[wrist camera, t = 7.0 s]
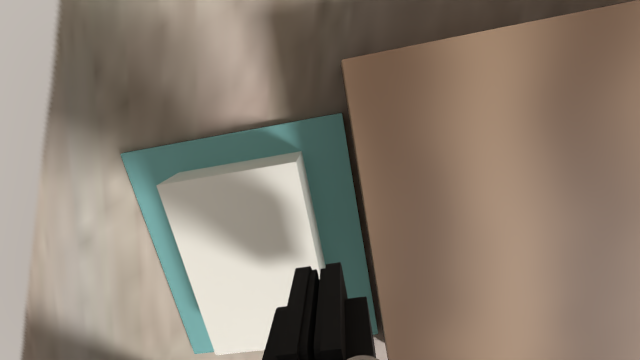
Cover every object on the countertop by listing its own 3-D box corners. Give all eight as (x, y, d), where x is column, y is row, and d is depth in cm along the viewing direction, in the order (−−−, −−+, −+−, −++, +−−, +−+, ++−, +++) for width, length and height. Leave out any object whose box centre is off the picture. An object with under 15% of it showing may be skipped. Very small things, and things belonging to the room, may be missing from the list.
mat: (341, 112, 14) (341, 113, 14) (377, 330, 18) (378, 334, 18) (124, 152, 16) (120, 153, 15) (196, 349, 19) (194, 353, 19)
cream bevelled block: (156, 185, 14) (178, 172, 15) (215, 355, 16) (228, 325, 18) (296, 161, 13) (301, 151, 15) (334, 342, 15) (335, 313, 17)
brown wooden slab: (761, -20, 12) (955, -64, 8) (701, 310, 16) (811, 380, 13) (341, 64, 14) (341, 59, 10) (385, 343, 18) (397, 414, 14)
